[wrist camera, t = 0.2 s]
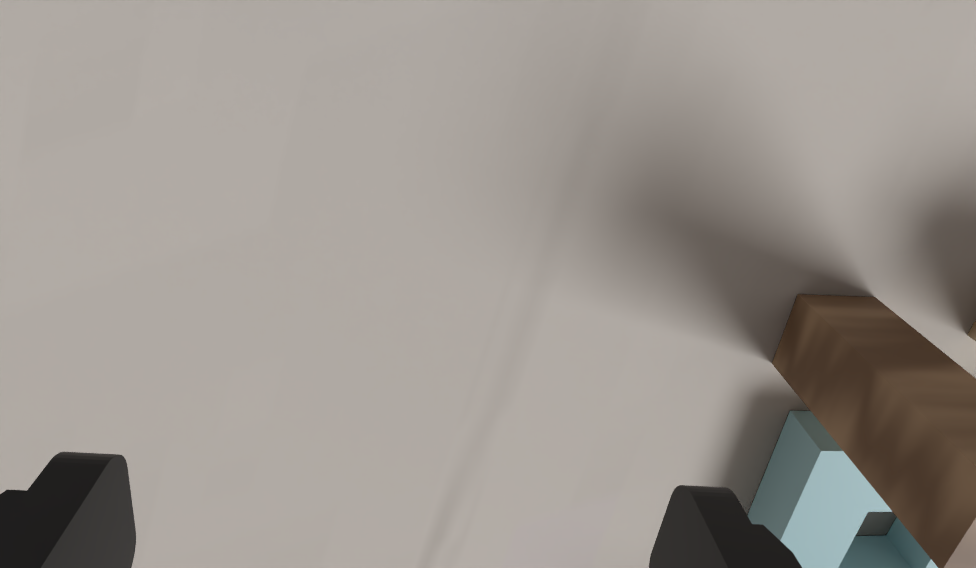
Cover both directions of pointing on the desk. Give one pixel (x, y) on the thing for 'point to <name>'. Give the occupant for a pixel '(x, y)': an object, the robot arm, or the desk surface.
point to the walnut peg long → (891, 413)
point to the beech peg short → (973, 331)
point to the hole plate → (826, 504)
